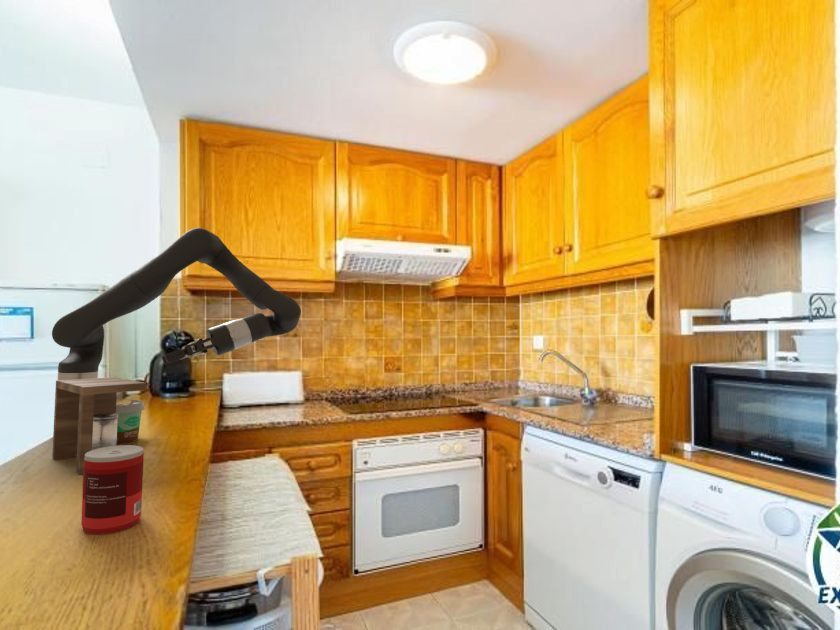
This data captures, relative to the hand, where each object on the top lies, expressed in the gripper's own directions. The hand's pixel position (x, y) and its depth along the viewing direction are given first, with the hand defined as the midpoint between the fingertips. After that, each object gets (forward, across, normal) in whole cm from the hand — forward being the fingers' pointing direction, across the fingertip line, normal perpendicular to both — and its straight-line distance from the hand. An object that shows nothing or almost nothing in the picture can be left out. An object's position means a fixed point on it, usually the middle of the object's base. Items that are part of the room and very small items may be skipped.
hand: (164, 359), depth 115 cm
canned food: (+19, +42, +22) cm, 51 cm away
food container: (+14, -19, +16) cm, 28 cm away
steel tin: (+19, 0, +16) cm, 25 cm away
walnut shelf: (+20, 0, +16) cm, 26 cm away
